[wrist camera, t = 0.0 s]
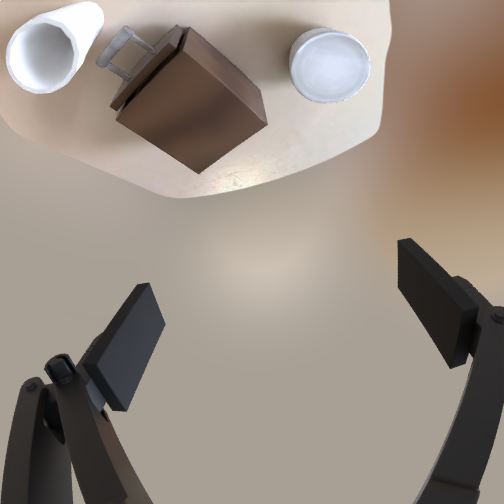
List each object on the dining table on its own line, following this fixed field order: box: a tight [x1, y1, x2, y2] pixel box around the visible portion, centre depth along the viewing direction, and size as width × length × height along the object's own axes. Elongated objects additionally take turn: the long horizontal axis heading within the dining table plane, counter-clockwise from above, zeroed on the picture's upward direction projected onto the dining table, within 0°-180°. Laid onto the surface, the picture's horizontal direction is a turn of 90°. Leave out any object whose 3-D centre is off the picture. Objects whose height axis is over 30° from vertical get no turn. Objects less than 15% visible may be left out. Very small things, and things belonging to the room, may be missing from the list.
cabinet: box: [116, 27, 268, 174], centre depth 38 cm, size 15×13×10 cm
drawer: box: [95, 25, 183, 111], centre depth 35 cm, size 19×11×8 cm, turn 40°
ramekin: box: [289, 28, 370, 103], centre depth 36 cm, size 11×11×5 cm
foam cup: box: [6, 1, 104, 94], centre depth 25 cm, size 10×9×13 cm
